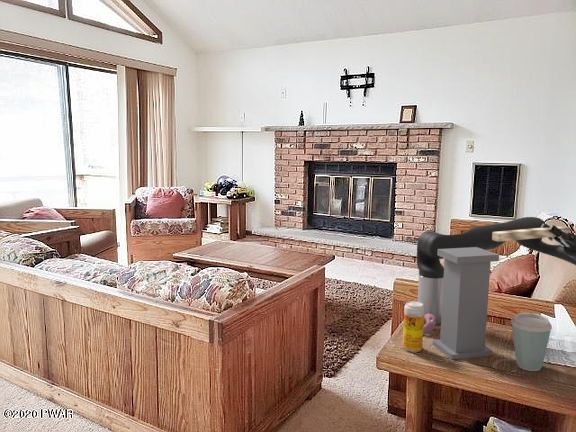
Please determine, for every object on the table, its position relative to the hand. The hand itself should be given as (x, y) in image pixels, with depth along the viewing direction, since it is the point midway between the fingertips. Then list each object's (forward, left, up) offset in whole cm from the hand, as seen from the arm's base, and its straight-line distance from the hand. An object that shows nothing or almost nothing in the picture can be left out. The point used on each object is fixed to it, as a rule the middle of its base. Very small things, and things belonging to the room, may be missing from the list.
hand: (546, 226), depth 147 cm
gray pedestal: (+13, -24, -39) cm, 48 cm away
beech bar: (+3, -5, -3) cm, 6 cm away
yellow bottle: (+17, -39, -39) cm, 58 cm away
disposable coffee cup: (+19, -6, -39) cm, 44 cm away
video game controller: (0, -35, -39) cm, 53 cm away
